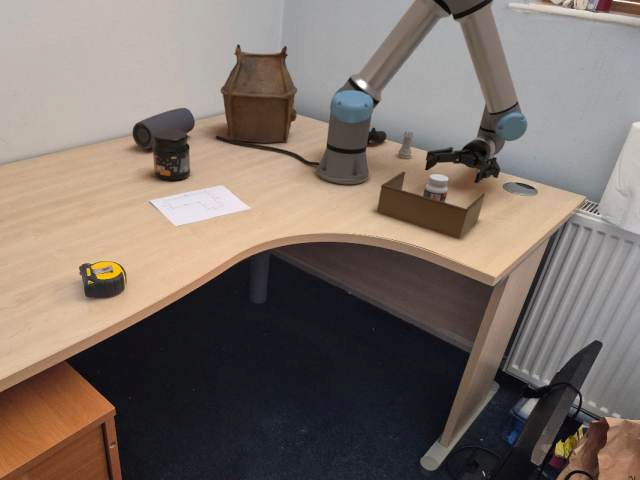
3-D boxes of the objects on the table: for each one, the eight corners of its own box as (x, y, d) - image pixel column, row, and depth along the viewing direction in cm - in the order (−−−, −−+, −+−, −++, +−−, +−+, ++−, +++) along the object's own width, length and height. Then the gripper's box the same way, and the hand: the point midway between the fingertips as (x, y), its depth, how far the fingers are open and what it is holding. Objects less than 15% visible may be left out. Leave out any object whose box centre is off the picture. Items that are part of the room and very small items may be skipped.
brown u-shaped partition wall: (398, 196, 145) (403, 171, 141) (477, 220, 134) (485, 193, 130) (376, 211, 136) (381, 184, 132) (459, 238, 125) (467, 210, 121)
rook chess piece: (396, 157, 172) (400, 133, 168) (398, 153, 176) (403, 130, 171) (409, 159, 171) (414, 135, 167) (411, 155, 174) (416, 132, 170)
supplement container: (147, 174, 152) (143, 133, 145) (174, 166, 158) (172, 126, 152) (169, 184, 146) (167, 142, 139) (198, 175, 152) (196, 135, 146)
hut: (296, 146, 178) (304, 52, 161) (218, 143, 178) (217, 48, 161) (293, 127, 197) (300, 40, 180) (222, 124, 196) (222, 37, 180)
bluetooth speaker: (175, 132, 186) (173, 103, 181) (196, 137, 182) (195, 108, 177) (132, 149, 170) (129, 118, 164) (154, 155, 166) (152, 123, 160)
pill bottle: (442, 219, 134) (452, 182, 128) (420, 216, 135) (428, 180, 129) (440, 209, 139) (449, 174, 133) (418, 207, 139) (426, 172, 134)
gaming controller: (339, 142, 192) (334, 134, 182) (342, 126, 191) (338, 118, 182) (384, 149, 187) (381, 141, 177) (388, 133, 186) (386, 125, 177)
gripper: (517, 175, 148) (495, 197, 134) (434, 154, 160) (405, 173, 146) (526, 149, 144) (503, 169, 129) (439, 130, 156) (410, 147, 142)
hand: (451, 171), depth 138 cm, fingers open, 13 cm apart
